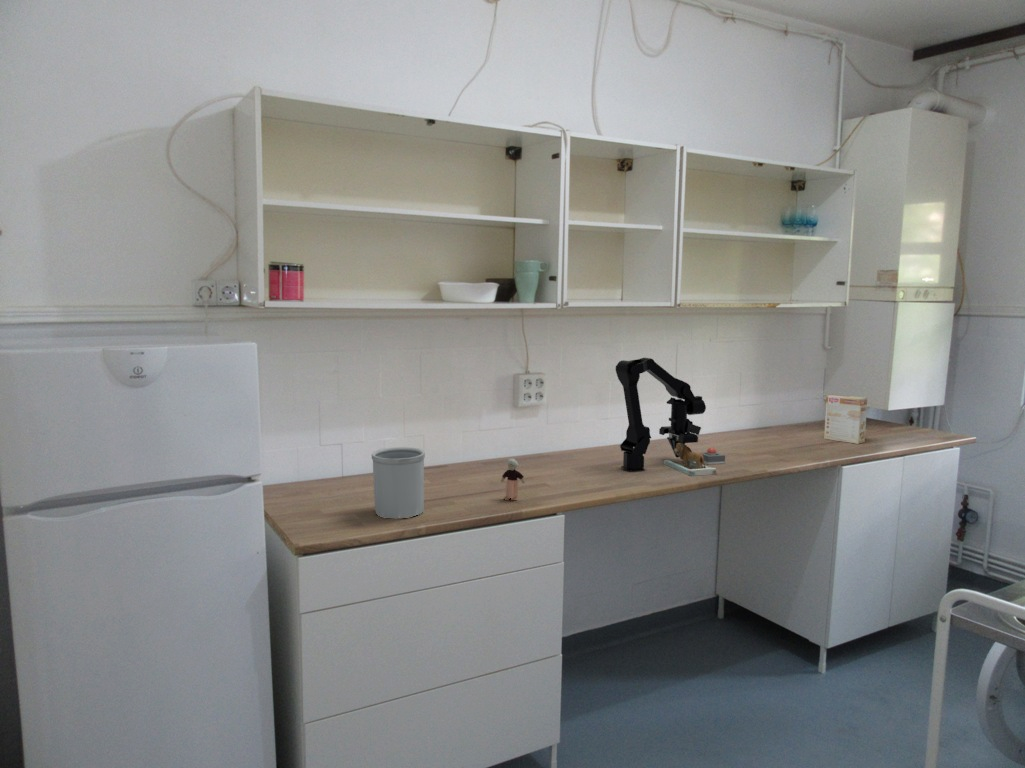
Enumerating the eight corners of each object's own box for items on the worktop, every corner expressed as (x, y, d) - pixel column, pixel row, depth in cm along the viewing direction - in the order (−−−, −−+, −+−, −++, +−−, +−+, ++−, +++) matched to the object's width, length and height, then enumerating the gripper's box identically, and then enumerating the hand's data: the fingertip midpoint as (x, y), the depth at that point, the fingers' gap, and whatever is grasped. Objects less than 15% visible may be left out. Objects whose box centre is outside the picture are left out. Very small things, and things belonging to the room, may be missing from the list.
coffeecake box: (865, 442, 312) (868, 397, 310) (858, 444, 308) (861, 398, 305) (830, 437, 323) (833, 393, 321) (823, 439, 319) (825, 395, 316)
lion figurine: (670, 467, 264) (671, 442, 263) (679, 465, 267) (680, 441, 266) (705, 474, 253) (706, 449, 252) (714, 472, 257) (715, 447, 255)
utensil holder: (409, 523, 197) (408, 460, 195) (362, 516, 202) (361, 455, 200) (434, 508, 211) (434, 449, 209) (390, 503, 216) (389, 445, 214)
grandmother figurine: (499, 500, 219) (499, 459, 218) (501, 497, 223) (501, 457, 221) (524, 501, 218) (524, 460, 216) (525, 498, 222) (526, 457, 220)
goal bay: (690, 476, 251) (691, 470, 251) (664, 464, 269) (664, 458, 269) (716, 474, 254) (716, 468, 253) (688, 462, 272) (688, 457, 271)
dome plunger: (710, 459, 271) (710, 448, 270) (705, 457, 274) (705, 446, 273) (717, 458, 272) (718, 448, 271) (712, 456, 275) (713, 446, 274)
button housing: (708, 464, 269) (708, 456, 268) (698, 460, 275) (698, 452, 275) (724, 463, 271) (725, 455, 270) (714, 459, 277) (714, 451, 277)
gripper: (712, 419, 261) (710, 461, 263) (685, 411, 278) (683, 450, 280) (684, 420, 257) (682, 463, 259) (659, 412, 275) (657, 452, 277)
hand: (677, 457), depth 269 cm, fingers closed
